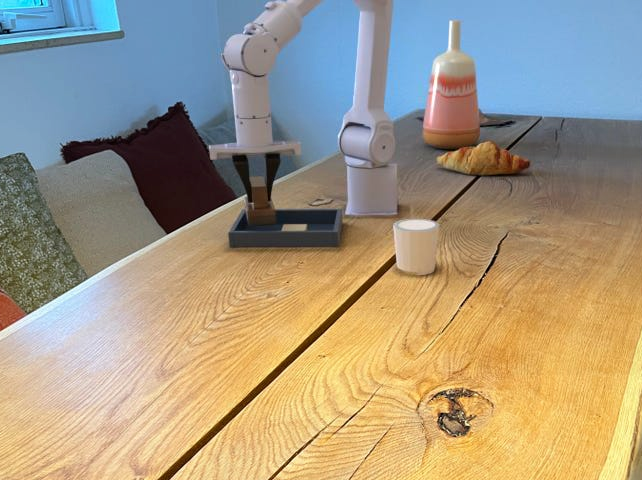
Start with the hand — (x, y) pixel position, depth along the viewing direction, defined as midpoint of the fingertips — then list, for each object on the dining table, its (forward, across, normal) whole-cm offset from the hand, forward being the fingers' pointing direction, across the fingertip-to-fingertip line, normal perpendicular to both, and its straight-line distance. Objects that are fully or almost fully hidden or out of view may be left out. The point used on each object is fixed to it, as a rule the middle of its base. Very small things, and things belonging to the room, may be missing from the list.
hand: (259, 200), depth 132 cm
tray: (+6, -4, +1) cm, 8 cm away
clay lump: (+6, -5, +1) cm, 8 cm away
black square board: (+5, -55, -86) cm, 102 cm away
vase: (+6, -53, -66) cm, 85 cm away
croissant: (+6, -52, -38) cm, 64 cm away
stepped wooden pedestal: (+3, 0, 0) cm, 3 cm away
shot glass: (+7, -22, +21) cm, 31 cm away
